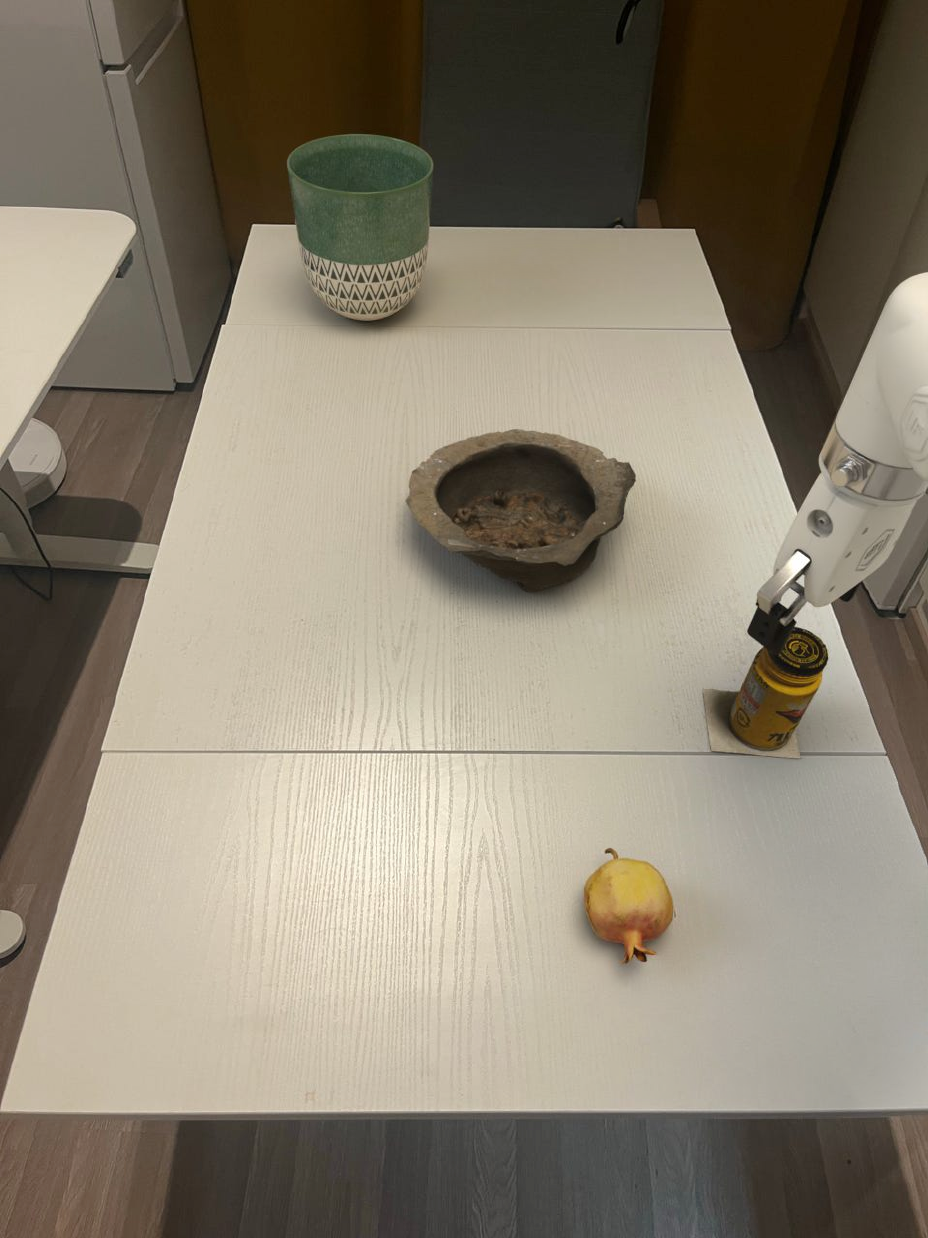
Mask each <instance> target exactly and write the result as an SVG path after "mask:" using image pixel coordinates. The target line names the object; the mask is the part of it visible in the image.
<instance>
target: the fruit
mask: <svg viewBox="0 0 928 1238" xmlns="http://www.w3.org/2000/svg"><path fill="white" fill-rule="evenodd" d="M607 854H611V855H612V857H613V858H612V859H611V860H609V861H606V862H605V863H603V864H602V865H600V867H598V868H597V869H596V870H595V871H594V872H593V873H592V874H591V875H590V876H589V877H588V878H587V880H586V882H585V884H584V887H583V904H584V909H585V913H586V916H587V918H588V921H589V924H590V926H591V929H592V931H593V932H594V933H595V935H596V936H597V937H598V938H600V939H601V940H603V941H606V942H607V941H608V942H611V943H616V944H623V946H624V958H623V959H622V960H621V961H620V964H621V965H623V964H625V965H626V964H629V962H631V961H632V959H633V958H634V956H635V958H636V959H637V960H638V961H640V962H642V963H646V962H648V956H655V955H657V952H656V951H653V950H650V949H648V948H645V947H644V945H643V944H644V943H643V942H648V941H651V940H654V939H655V938H657V937H659V936H660V935H662V934H663V933H664V932H666V931H667V929H668V928H669V926H670V925H671V923H672V921H673V917H674V900H673V896H672V893H671V892H670V890H669V887H668V885H667V882H666V879H665V878H664V876H663V875H662V874H661V872H660V871H659V870H658V869H657V868H656V867H655V866H654V865H652V864H651V863H650V862H648V861H644V860H639V859H632V858H625V857H623V858H622V857H619V855H618V852H617V851H616V850H615V849H614V848H611V847H608V848H606V849H605V850H604V855H607ZM647 955H648V956H647Z"/></svg>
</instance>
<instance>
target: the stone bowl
mask: <svg viewBox="0 0 928 1238" xmlns="http://www.w3.org/2000/svg"><path fill="white" fill-rule="evenodd" d="M636 477H637V475H636V473H635V471H634V469H633V467H632V465H631V463H630V461H629V462H628V461H627V462H625V461H624V462H622V461H619V460H618V459H617V458H615V457H611V458H607V457H606V456H605V454H604V451H602V450H601V449H599V448H598V447H595V446H592V445H588V444H585V443H583V442H580V441H578V440H574V439H570V438H568V437H566V436H562V435H560V434H556V433H550V432H547V431H546V432H541V431H536V430H524V429H521V428H520V429H518V428H515V429H509V430H505V431H503V432H502V431H496V432H487V433H484V434H480V435H475V436H470V437H467V438H466V439H463V440H458V441H455V442H452V443H450V444H447V445H444V446H442V447H440V448H438V449H436V450H434V452H433V453H432V454H430V455H429V458H427V459H426V461H421V462H420V463H419V466H417V467H416V468H415V469H413V470H412V471H411V474H410V477H409V480H408V488H409V493H408V496H407V498H406V499H405V503H406V506H407V507H408V509H409V511H410V512H411V513H412V515H413V516H414V518H415V520H416V521H417V523H418V524H419V526H420V527H421V528H422V529H424V530H426V531H428V533H429V534H430V535H431V536H432V537H433V538H434V539H435V540H436V541H437V542H438V543H439V545H441V546H443V547H445V548H446V549H447V551H448V552H449V553H455V554H456V553H457V554H462V555H463V556H464V557H465V558H467V559H468V560H470V561H472V562H473V563H474V564H475V565H477V566H480V567H481V568H483V569H487V570H489V571H490V572H491V573H493V574H495V575H496V576H497V577H499V578H501V579H503V580H506V581H513V582H515V583H516V584H517V586H518V587H519V588H520V589H521V590H522V591H523V592H536V591H539V590H542V589H545V588H551V587H554V586H557V585H561V584H564V583H569V582H570V581H573V579H575V577H577V575H579V574H582V573H584V572H585V571H586V570H587V569H589V568H590V567H591V565H592V563H594V561H595V559H596V557H597V553H598V550H599V546H600V543H601V539H602V537H603V536H607V535H608V534H609V533H612V532H613V531H615V530H616V529H617V528H618V527H619V526H620V525H621V524H622V522H623V520H624V515H625V506H626V502H627V497H628V495H629V492H630V491H631V489H632V488H633V487H634V485H635V483H636V481H637V480H636Z"/></svg>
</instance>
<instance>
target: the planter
mask: <svg viewBox="0 0 928 1238" xmlns="http://www.w3.org/2000/svg"><path fill="white" fill-rule="evenodd" d="M286 166H287V177H288V184H289V190H290V197H291V201H292V208H293V215H294V223H295V229H296V235H297V241H298V247H299V248H298V249H299V254H300V259H301V264H302V268H303V270H304V273H305V277H306V278H307V281H308V283H309V285H310V288H311V289H312V291H313V293H314V294H315V295H316V296H317V298H318V299H319V300H320V301H321V302H322V303H323V304H324V305H326V307H328V308H329V309H331V310H332V311H333V312H335V313H337V314H339V315H340V316H341V317H345V318H347V319H351V320H355V321H364V322H365V321H366V322H369V321H371V322H372V321H377V320H382V319H386V318H388V317H390V316H392V315H394V314H396V313H397V312H399V311H400V310H402V308H404V307H405V306H406V305H407V304H408V303H409V302H410V301H412V298H414V296H415V295H416V293H417V292H418V290H419V288H420V286H421V283H422V280H423V277H424V274H425V271H426V267H427V259H428V250H429V239H430V226H431V214H432V213H431V211H432V198H433V197H432V196H433V187H434V161H433V159H432V157H431V156H430V154H429V153H428V152H427V151H425V149H423V148H422V147H420V146H418V145H415V144H414V143H411V142H408V141H406V140H403V139H399V138H395V137H391V136H385V135H377V134H368V133H367V134H366V133H365V134H364V133H349V134H337V135H330V136H325V137H320V138H316V139H314V140H310V141H308V142H305V143H304V144H301V145H300V146H298V147H296V148H295V149H294V150H293V151H292V152H291V153H290V154H289V155H288V157H287V160H286Z"/></svg>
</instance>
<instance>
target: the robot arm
mask: <svg viewBox="0 0 928 1238" xmlns="http://www.w3.org/2000/svg"><path fill="white" fill-rule="evenodd" d="M818 466H819V470H820V473H819V475H818V476H817V478H816V480H815V481H814V483H813V485H812V486H811V488H810V490H809V491H808V494H806V495H807V496H806V497H805V499H804V501H803V503H802V504H801V506H800V508H799V510H798V512H797V513H796V515H795V517H794V518H793V521H792V523H791V525H790V527H789V529H788V531H787V533H786V535H785V537H784V539H783V541H782V544H781V546H780V548H779V550H778V552H777V554H776V558H775V560H774V564H773V567H772V576H771V577H770V578H768V579H767V581H766V582H765V583H764V584H762V586H761V587H760V588H759V589H758V591H757V593H756V600H755V601H756V602H755V606H756V610H755V612H754V614H753V616H752V617H751V618H752V619H751V620H750V623H749V625H748V628H747V630H746V633H747V635H748V636H749V637H751V638H752V639H753V640H754V641H756V642H757V643H758V644H759V645H760V646H762V647H765V648H766V649H767V650H769V651H770V652H771V653H772V654H774V655H778V654H779V653H781V652H782V651H783V649H784V647H785V645H786V643H787V641H788V639H789V637H790V635H791V633H792V631H793V629H794V627H796V624H797V620H795V617H796V616H797V615H798V614H799V613H800V611H801V610H802V609H803V608H804V606H805V605H806V604H807V603H809V604H810V605H812V607H814V608H822V607H826V606H828V605H830V604H832V603H833V602H835V601H836V600H838V599H840V600H841V601H842V602H845V603H848V602H851V600H853V598H854V597H855V595H856V593H857V591H858V590H859V588H860V586H861V585H862V582H863V581H864V580H865V579H866V578H867V577H869V576H870V575H871V574H873V573H874V572H875V571H877V570H878V569H879V568H880V567H881V566H882V565H883V564H884V563H885V562H886V561H887V560H888V559H889V557H890V556H891V554H892V552H893V550H894V548H895V547H896V545H897V542H898V541H899V539H900V536H901V535H902V533H903V530H904V528H905V526H906V524H907V522H908V521H909V518H910V516H911V514H912V512H913V510H914V508H915V506H916V504H917V502H918V500H920V499H921V498H922V497H923V496H924V495H925V493H926V491H927V489H928V271H927V272H922V273H918V274H915V275H912V276H910V277H908V278H906V279H905V280H903V281H901V282H900V283H899V284H898V285H897V286H896V287H895V288H894V289H893V290H892V292H891V293H890V295H889V296H888V298H887V300H886V302H885V304H884V306H883V309H882V311H881V314H880V316H879V317H878V320H877V322H876V325H875V327H874V329H873V332H872V334H871V336H870V339H869V341H868V343H867V345H866V348H865V350H864V352H863V354H862V357H861V359H860V362H859V363H858V366H857V368H856V371H855V372H854V375H853V377H852V380H851V382H850V384H849V387H848V388H847V391H846V393H845V396H844V398H843V400H842V403H841V405H840V407H839V410H838V412H837V414H836V417H835V419H834V421H833V423H832V425H831V428H830V430H829V432H828V435H827V437H826V440H825V441H824V444H823V446H822V449H821V451H820V453H819V456H818ZM802 576H804V577H803V585H802V584H800V583H799V582H798V580H799V579H800V578H801V577H802ZM789 589H791V590H792V591H794V593H796V594H797V597H796V598H795V599H794V600H793V602H792V603H791V604H790V605H789V607H786V606H785V605H784V604H782V603H781V601H782V598H783V596H784V594H785V593H786V592H787V591H788V590H789Z"/></svg>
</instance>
